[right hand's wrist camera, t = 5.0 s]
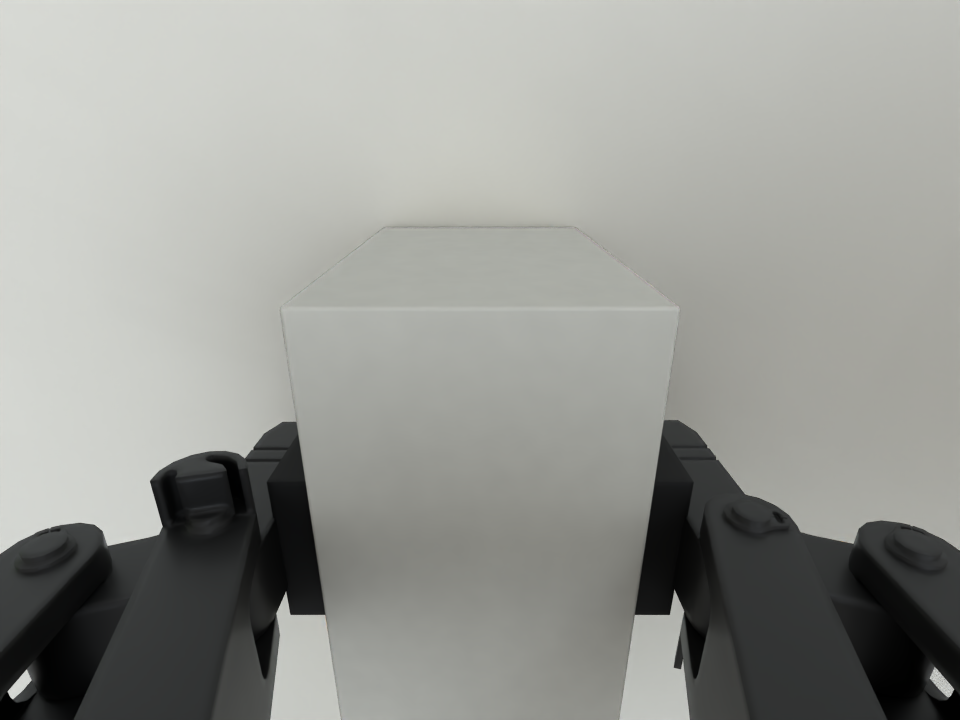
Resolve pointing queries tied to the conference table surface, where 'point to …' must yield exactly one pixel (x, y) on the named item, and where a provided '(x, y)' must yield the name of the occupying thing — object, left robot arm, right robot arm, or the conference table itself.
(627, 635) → the beam
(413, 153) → the conference table surface
